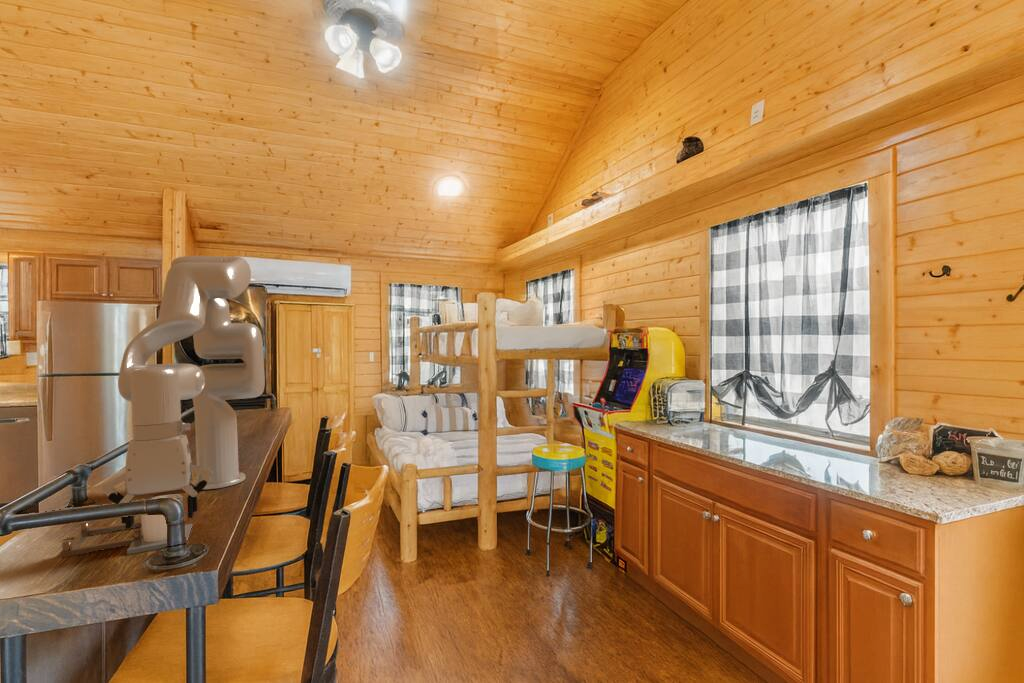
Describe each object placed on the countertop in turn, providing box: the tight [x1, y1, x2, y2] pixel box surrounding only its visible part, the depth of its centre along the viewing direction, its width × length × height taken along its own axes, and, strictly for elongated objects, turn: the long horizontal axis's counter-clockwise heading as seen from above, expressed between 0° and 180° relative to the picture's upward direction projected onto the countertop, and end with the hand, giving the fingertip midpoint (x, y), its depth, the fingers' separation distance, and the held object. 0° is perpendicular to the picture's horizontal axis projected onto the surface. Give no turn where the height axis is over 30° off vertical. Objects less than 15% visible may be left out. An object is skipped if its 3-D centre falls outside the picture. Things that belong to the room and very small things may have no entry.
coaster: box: [126, 523, 194, 556], centre depth 94 cm, size 9×9×1 cm
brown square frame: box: [61, 520, 143, 558], centre depth 95 cm, size 11×11×2 cm
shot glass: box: [139, 493, 183, 542], centre depth 94 cm, size 7×7×7 cm
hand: (161, 520), depth 94 cm, fingers open, 9 cm apart
